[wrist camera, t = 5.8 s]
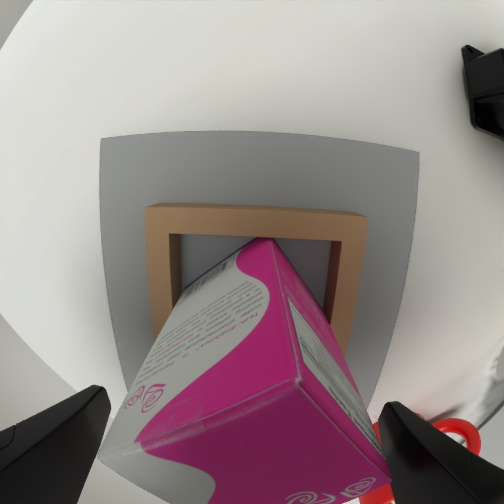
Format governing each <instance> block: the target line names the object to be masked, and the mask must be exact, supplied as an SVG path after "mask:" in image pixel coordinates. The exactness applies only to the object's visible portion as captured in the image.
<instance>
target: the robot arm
mask: <svg viewBox="0 0 504 504" xmlns="http://www.w3.org/2000/svg"><path fill="white" fill-rule="evenodd" d="M462 50H463V55H464V60H465V66H466V73H467V79H468V87H469V96H470V107H471V120H472V124H473V126H474V127H475V128H476V129H479V130H481V131H484V132H486V133H489V134H491V135H493V136H495V137H498V138H500V139H502V140H504V49H503V48H499V49H497V50H494V51H492V52H489V53H487V54H484V53H483V52H481V51H479V50H477V49H475V48H474V47H472V46H470V45H465V46H464V47H463V48H462ZM477 119H478V121H479V123H478V121H477ZM110 412H111V403H110V400H109V397H108V394H107V391H106V389H105V388H104V387H102V386H98V385H92V386H90V387H88V388H86V389H84V390H82V391H80V392H78V393H77V394H75V395H73V396H71V397H69V398H67V399H65V400H63V401H61V402H59V403H57V404H56V405H53V406H52V407H50V408H48V409H46V410H44V411H42V412H40V413H38V414H36V415H34V416H32V417H30V418H28V419H26V420H23V421H21V422H19V423H17V424H16V425H13V426H11V427H9V428H7V429H4V430H2V431H0V504H77V502H78V499H79V497H80V494H81V492H82V489H83V486H84V484H85V481H86V479H87V476H88V474H89V472H90V469H91V467H92V464H93V462H94V459H95V457H96V455H97V452H98V450H99V447H100V445H101V441H102V438H103V435H104V431H105V428H106V424H107V421H108V418H109V415H110ZM378 430H379V435H380V441H381V447H382V450H383V453H384V455H385V458H386V461H387V464H388V467H389V469H390V473H391V476H392V481H391V482H390V486H391V490H392V494H393V498H394V502H395V504H504V470H503V469H501V468H499V467H497V466H495V465H493V464H491V463H490V462H488V461H486V460H484V459H483V458H481V457H479V456H478V455H476V454H475V453H473V452H470V450H469V449H467V448H465V447H464V446H462V445H461V444H459V443H458V442H456V441H455V440H453V439H452V438H450V437H449V436H447V435H446V434H445V433H443V432H442V431H440V430H439V429H437V428H436V427H434V426H433V425H431V424H430V423H428V422H427V421H426V420H424V419H423V418H421V417H420V416H418V415H417V414H415V413H414V412H413V411H411V410H410V409H408V408H407V407H406V406H404V405H403V404H401V403H400V402H398V401H393V402H387V403H386V404H385V405H384V407H383V410H382V412H381V414H380V416H379V419H378Z"/></svg>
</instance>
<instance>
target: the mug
mask: <svg viewBox="0 0 504 504" xmlns="http://www.w3.org/2000/svg"><path fill="white" fill-rule="evenodd" d="M415 414H417V413H415ZM417 415H418V416H420V417H421V418H423V417H422V416H421V415H420V414H417ZM423 419H424V418H423ZM431 425H433V426H434V427H436V428H437V429H439V430H440V431H442V432H443V433H447V432H452V433H456V434H459V435H461V436H462V437H463V438H464V439H465V441H466V444H467V449H469V450H470V452H473V453H475V454H476V455H478V456H479V452H480V447H481V440H480V435H479V432H478V431H477V429H476V428H475V426H474V425H472V424H471V423H470V422H468V421H466V420H463V419H458V418H448V419H443V420H439V421H436V422H434V423H432V424H431ZM373 427H374V430H375V432H376V435H377V437H378V440H379V442H380V445H381V441H380V435H379V430H378V422H376V423H374V424H373ZM359 502H360V504H395V502H394V498H393V494H392V490H391V486H390V483H388V484H386V485H384V486H382V487H380V488H378V489H376V490H373V491H371V492H369V493H367V494H365V495H362V496H360V497H359Z"/></svg>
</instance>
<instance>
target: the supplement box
mask: <svg viewBox="0 0 504 504" xmlns="http://www.w3.org/2000/svg"><path fill="white" fill-rule="evenodd" d="M97 458H98V459H99V460H100V462H102V463H103V464H104V465H106V466H107V467H109V468H110V469H112V470H113V471H115V472H116V473H118V474H119V475H121V476H122V477H124V478H126V479H127V480H129V481H130V482H132V483H134V484H135V485H137V486H139V487H140V488H142V489H144V490H146V491H148V492H150V493H151V494H153V495H155V496H157V497H159V498H160V499H162V500H164V501H166V502H169V503H170V504H342V503H345V502H348V501H350V500H352V499H355V498H357V497H360V496H362V495H365V494H367V493H369V492H371V491H373V490H376V489H378V488H380V487H382V486H384V485H386V484H388V483H390V482H391V481H392V476H391V473H390V469H389V467H388V464H387V461H386V458H385V455H384V453H383V450H382V447H381V445H380V442H379V440H378V437H377V435H376V432H375V430H374V427H373V425H372V422H371V420H370V418H369V415H368V413H367V410H366V408H365V405H364V403H363V401H362V398H361V396H360V393H359V391H358V388H357V386H356V384H355V381H354V379H353V377H352V375H351V373H350V370H349V368H348V366H347V363H346V361H345V359H344V356H343V354H342V352H341V350H340V347H339V345H338V343H337V341H336V338H335V336H334V334H333V332H332V329H331V327H330V325H329V323H328V321H327V318H326V316H325V314H324V312H323V310H322V308H321V307H320V305H319V304H318V302H317V301H316V299H315V298H314V296H313V295H312V293H311V292H310V290H309V289H308V287H307V286H306V284H305V283H304V281H303V280H302V278H301V277H300V275H299V274H298V272H297V271H296V270H295V268H294V267H293V265H292V264H291V262H290V261H289V259H288V258H287V257H286V255H285V254H284V252H283V251H282V250H281V248H280V247H279V245H278V244H277V243H276V241H275V240H274V238H271V237H256V238H254V239H253V240H251V241H250V242H248V243H247V244H245V245H244V246H242V247H241V248H240V249H238V250H237V251H235V252H234V253H232V254H231V255H229V256H228V257H226V258H225V259H224V260H222V261H221V262H219V263H218V264H216V265H215V266H214V267H212V268H211V269H209V270H208V271H207V272H205V273H204V274H202V275H201V276H200V277H198V278H197V279H196V280H194V281H193V282H191V283H190V284H189V285H187V286H186V287H185V288H184V290H183V293H182V294H181V296H180V298H179V300H178V302H177V303H176V305H175V307H174V309H173V311H172V312H171V314H170V316H169V318H168V320H167V321H166V323H165V325H164V327H163V328H162V330H161V332H160V334H159V335H158V337H157V339H156V341H155V343H154V345H153V346H152V348H151V350H150V352H149V354H148V356H147V357H146V359H145V361H144V363H143V365H142V367H141V368H140V370H139V372H138V374H137V376H136V378H135V380H134V382H133V384H132V386H131V388H130V390H129V392H128V394H127V395H126V397H125V399H124V401H123V403H122V405H121V407H120V409H119V411H118V413H117V415H116V417H115V419H114V421H113V423H112V425H111V427H110V429H109V431H108V433H107V435H106V438H105V439H104V441H103V444H102V445H101V447H100V449H99V451H98V453H97Z"/></svg>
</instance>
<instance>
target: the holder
mask: <svg viewBox="0 0 504 504" xmlns="http://www.w3.org/2000/svg"><path fill="white" fill-rule="evenodd" d="M418 176H419V152H416V151H411V150H406V149H401V148H396V147H391V146H386V145H380V144H374V143H368V142H361V141H355V140H348V139H340V138H332V137H323V136H313V135H303V134H290V133H275V132H254V131H185V132H164V133H149V134H137V135H127V136H117V137H109V138H101V143H100V173H99V195H100V224H101V240H102V253H103V263H104V272H105V281H106V289H107V296H108V302H109V309H110V315H111V321H112V326H113V331H114V337H115V342H116V346H117V351H118V355H119V360H120V364H121V368H122V372H123V376H124V380H125V384H126V388H127V391H128V392H129V390H130V388H131V386H132V384H133V382H134V380H135V378H136V376H137V374H138V372H139V370H140V368H141V367H142V365H143V363H144V361H145V359H146V357H147V356H148V354H149V352H150V350H151V348H152V346H153V345H154V343H155V341H156V339H157V337H158V335H159V334H160V332H161V330H162V328H163V327H164V325H165V323H166V321H167V320H168V318H169V316H170V314H171V312H172V311H173V309H174V307H175V305H176V303H177V302H178V300H179V298H180V296H181V294H182V293H183V290H184V288H185V287H186V286H187V285H189V284H190V283H191V282H193V281H194V280H196V279H197V278H198V277H200V276H201V275H202V274H204V273H205V272H207V271H208V270H209V269H211V268H212V267H214V266H215V265H216V264H218V263H219V262H221V261H222V260H224V259H225V258H226V257H228V256H229V255H231V254H232V253H234V252H235V251H237V250H238V249H240V248H241V247H242V246H244V245H245V244H247V243H248V242H250V241H251V240H253V239H254V238H256V237H271V238H274V240H275V241H276V243H277V244H278V245H279V247H280V248H281V250H282V251H283V252H284V254H285V255H286V257H287V258H288V259H289V261H290V262H291V264H292V265H293V267H294V268H295V270H296V271H297V272H298V274H299V275H300V277H301V278H302V280H303V281H304V283H305V284H306V286H307V287H308V289H309V290H310V292H311V293H312V295H313V296H314V298H315V299H316V301H317V302H318V304H319V305H320V307H321V308H322V310H323V312H324V314H325V316H326V318H327V321H328V323H329V325H330V327H331V329H332V332H333V334H334V336H335V338H336V341H337V343H338V345H339V347H340V350H341V352H342V354H343V356H344V359H345V361H346V363H347V366H348V368H349V370H350V373H351V375H352V377H353V379H354V381H355V384H356V386H357V388H358V391H359V393H360V396H361V398H362V401H363V403H364V405H365V408H366V409H367V408H368V406H369V403H370V401H371V398H372V395H373V393H374V390H375V387H376V384H377V382H378V379H379V376H380V373H381V370H382V367H383V364H384V361H385V357H386V354H387V351H388V348H389V344H390V341H391V337H392V334H393V330H394V326H395V322H396V319H397V315H398V311H399V306H400V302H401V298H402V293H403V288H404V284H405V279H406V274H407V268H408V263H409V257H410V251H411V244H412V237H413V230H414V222H415V213H416V203H417V191H418Z"/></svg>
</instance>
